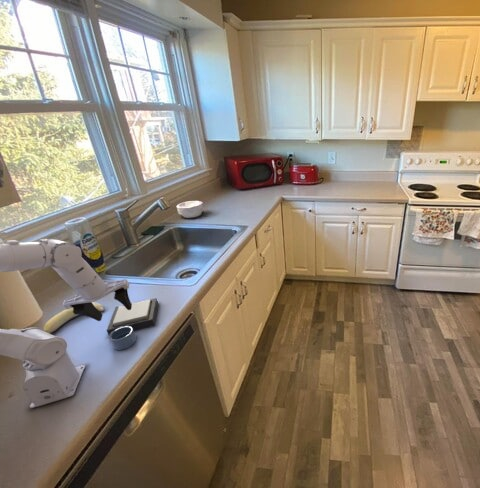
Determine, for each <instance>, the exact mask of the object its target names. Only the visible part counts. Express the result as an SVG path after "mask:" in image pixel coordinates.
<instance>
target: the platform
mask: <svg viewBox="0 0 480 488" xmlns="http://www.w3.org/2000/svg"><path fill="white" fill-rule="evenodd" d="M131 304H132V308H131V310H127V309H126V308H125V306H124V305H123V304H122V305H118V306H119V308H118V310H117V313H116V316H115V318H114V321H113V326H118V325H122V324H126V323H130V322H134V321H138V320H143V319H147V318H148V316H149V312H150V307H151V300H150V299H145V300H141V301H136V302H131Z"/></svg>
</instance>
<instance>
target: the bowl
mask: <svg viewBox="0 0 480 488" xmlns="http://www.w3.org/2000/svg"><path fill="white" fill-rule="evenodd" d="M108 339H109V341H110V344H111V346H112V348H113V349H114V350H116V351H118V350H126V349H128V348H130V347H131V346H133V345H134V344H135V342H136V341H137V335H136V333H135V331H133V328H132V327H130V326H124V327H120V328H118V329H116V330H114V331H113V332H112V333H111V334H110V335H108Z"/></svg>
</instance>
